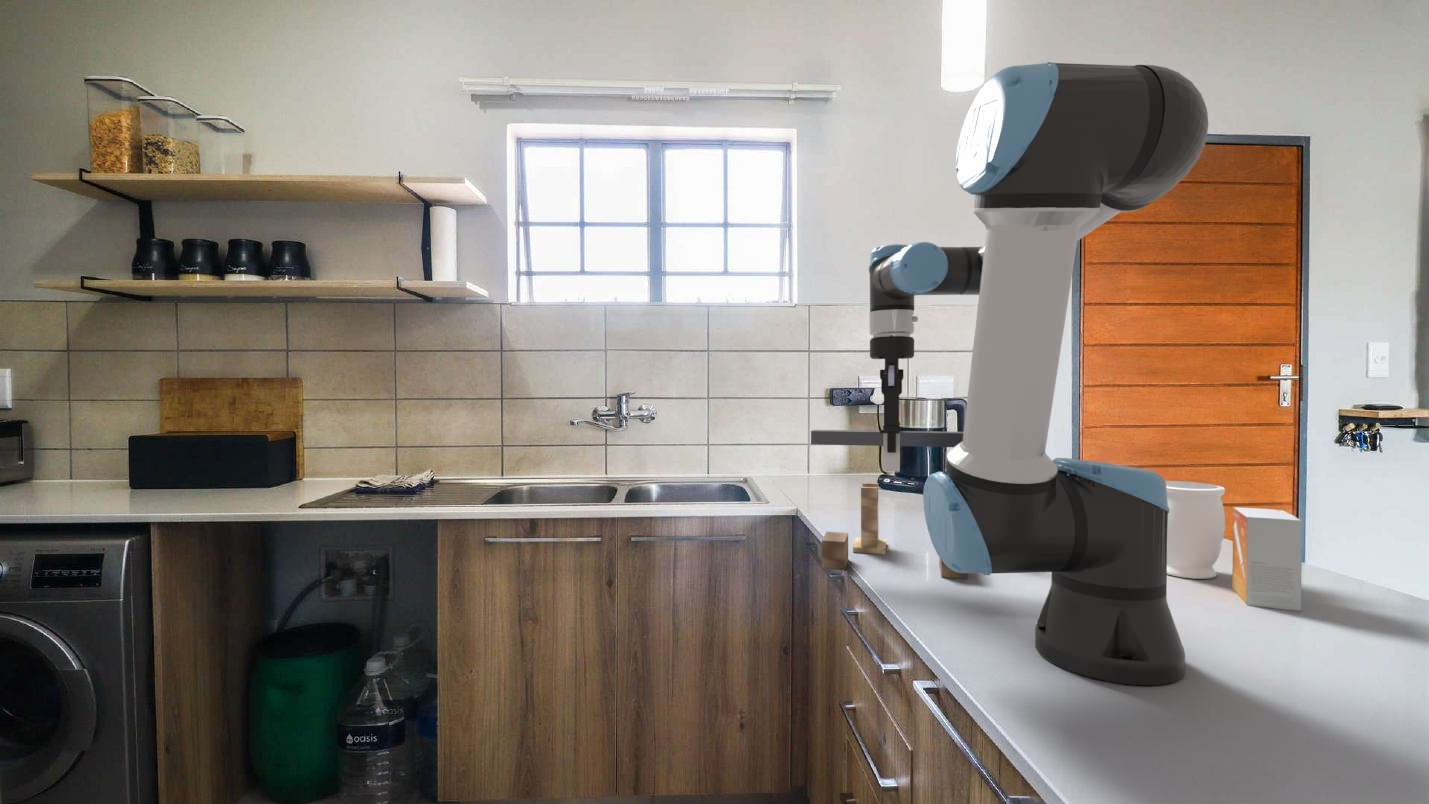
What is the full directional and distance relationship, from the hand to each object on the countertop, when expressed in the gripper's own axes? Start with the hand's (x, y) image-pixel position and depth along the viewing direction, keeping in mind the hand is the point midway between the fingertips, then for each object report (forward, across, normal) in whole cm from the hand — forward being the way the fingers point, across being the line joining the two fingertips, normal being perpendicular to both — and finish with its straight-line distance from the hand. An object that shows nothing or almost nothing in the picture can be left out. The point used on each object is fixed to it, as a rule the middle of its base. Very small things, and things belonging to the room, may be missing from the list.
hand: (891, 469), depth 113 cm
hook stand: (+18, +12, -6) cm, 22 cm away
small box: (+18, -4, -54) cm, 56 cm away
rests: (+17, 0, 0) cm, 17 cm away
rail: (-4, 0, 0) cm, 4 cm away
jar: (+18, +9, -48) cm, 52 cm away
